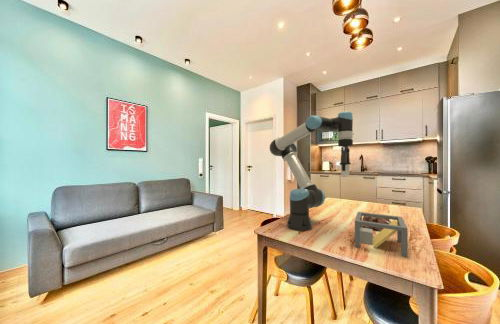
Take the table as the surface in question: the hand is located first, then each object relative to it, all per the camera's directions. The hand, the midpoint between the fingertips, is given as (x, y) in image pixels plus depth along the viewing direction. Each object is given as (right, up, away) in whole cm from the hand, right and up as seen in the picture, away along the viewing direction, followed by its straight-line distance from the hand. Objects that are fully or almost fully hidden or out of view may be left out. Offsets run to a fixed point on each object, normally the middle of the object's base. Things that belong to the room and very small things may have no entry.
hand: (345, 176), depth 113 cm
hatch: (+11, -27, -17) cm, 34 cm away
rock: (+22, -33, +6) cm, 40 cm away
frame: (+9, -33, -15) cm, 37 cm away
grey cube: (+7, -30, -14) cm, 34 cm away
